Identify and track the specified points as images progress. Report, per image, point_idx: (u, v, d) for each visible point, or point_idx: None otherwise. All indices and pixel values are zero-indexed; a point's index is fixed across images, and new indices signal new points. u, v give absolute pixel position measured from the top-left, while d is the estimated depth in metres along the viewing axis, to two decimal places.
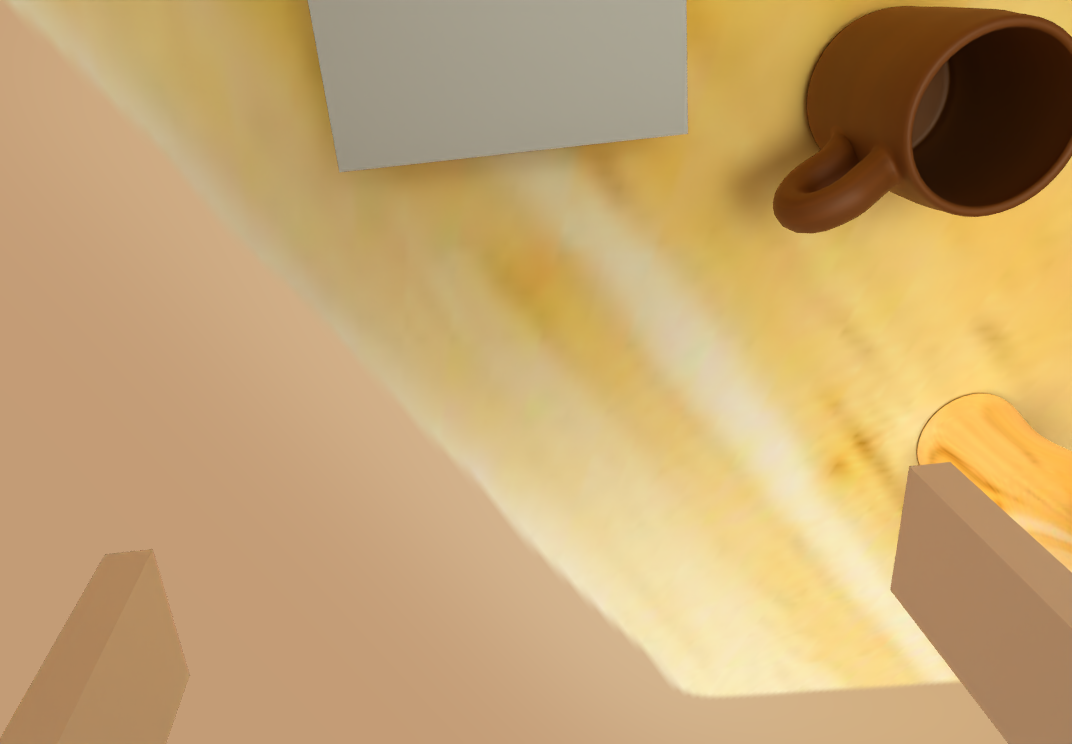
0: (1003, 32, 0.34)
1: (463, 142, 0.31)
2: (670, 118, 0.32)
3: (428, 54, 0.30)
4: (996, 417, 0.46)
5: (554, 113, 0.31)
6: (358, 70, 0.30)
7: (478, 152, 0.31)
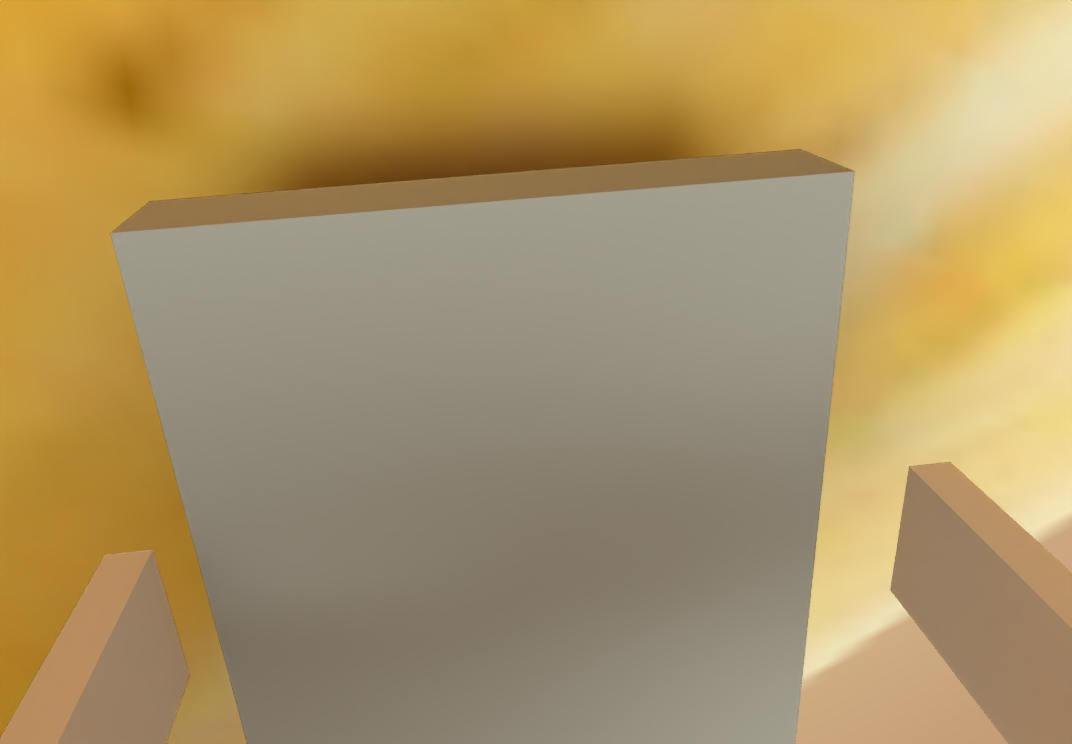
0: None
1: (781, 608, 0.16)
2: (812, 216, 0.13)
3: (624, 663, 0.17)
4: None
5: (757, 460, 0.15)
6: None
7: (803, 585, 0.16)
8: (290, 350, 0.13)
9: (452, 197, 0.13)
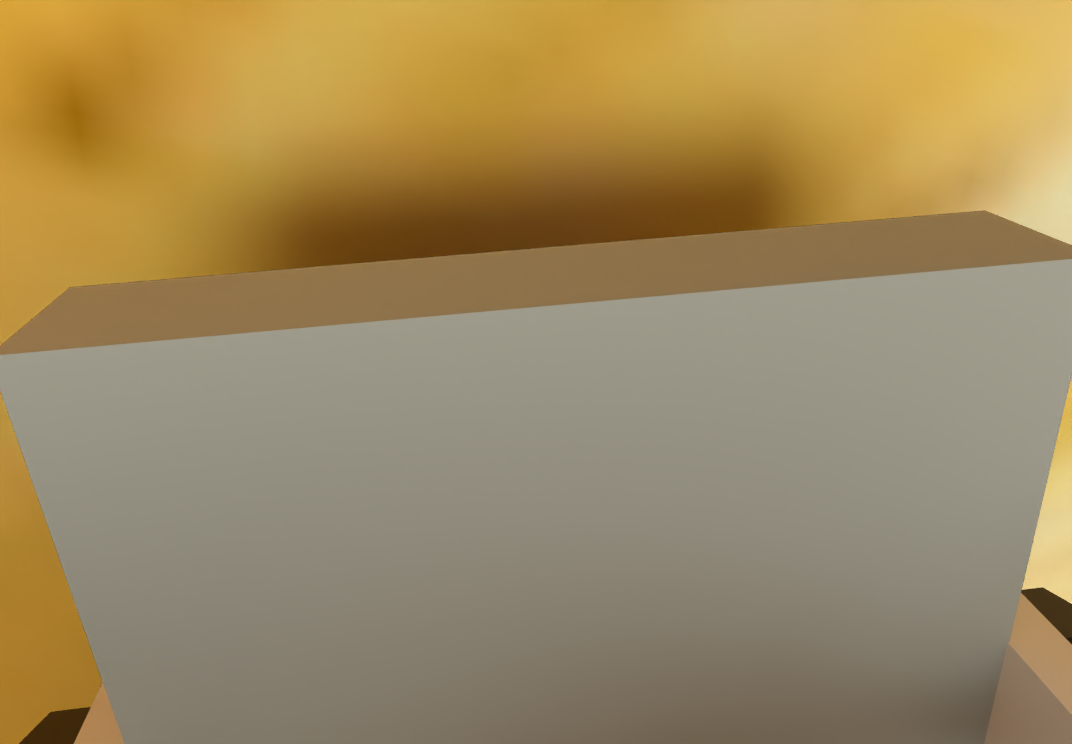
0: None
1: None
2: (1030, 320, 0.09)
3: None
4: None
5: (917, 643, 0.11)
6: None
7: None
8: (263, 514, 0.09)
9: (503, 293, 0.09)
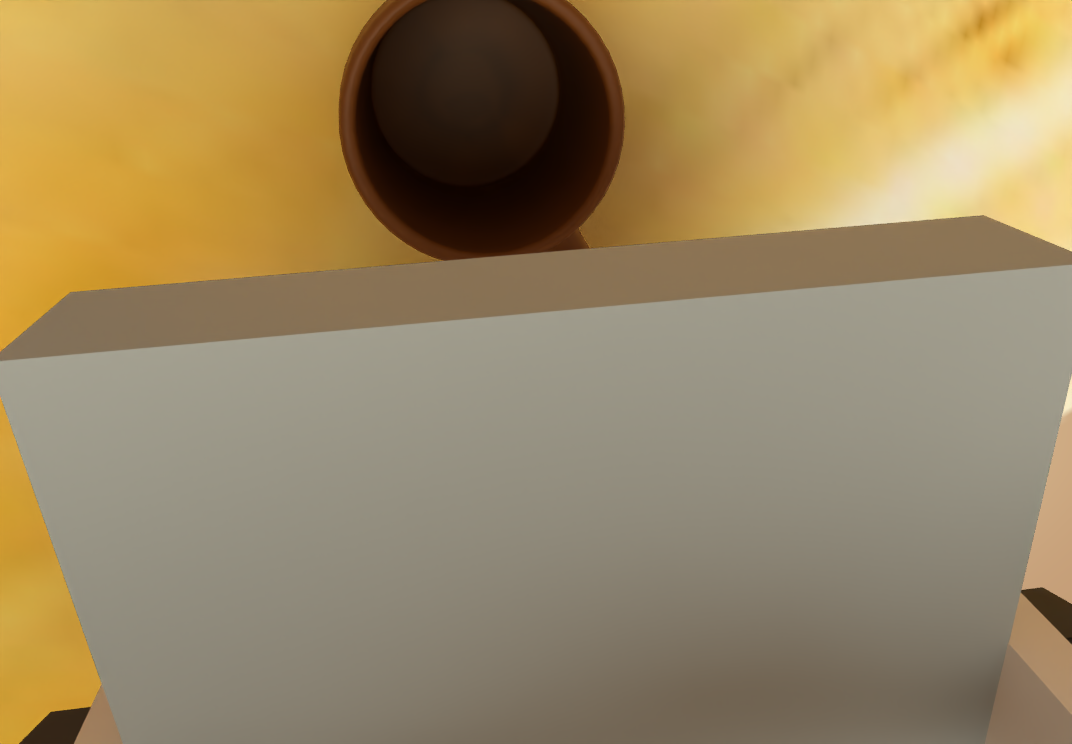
0: None
1: None
2: (1028, 326, 0.09)
3: None
4: None
5: (916, 647, 0.11)
6: None
7: None
8: (263, 519, 0.09)
9: (502, 298, 0.09)
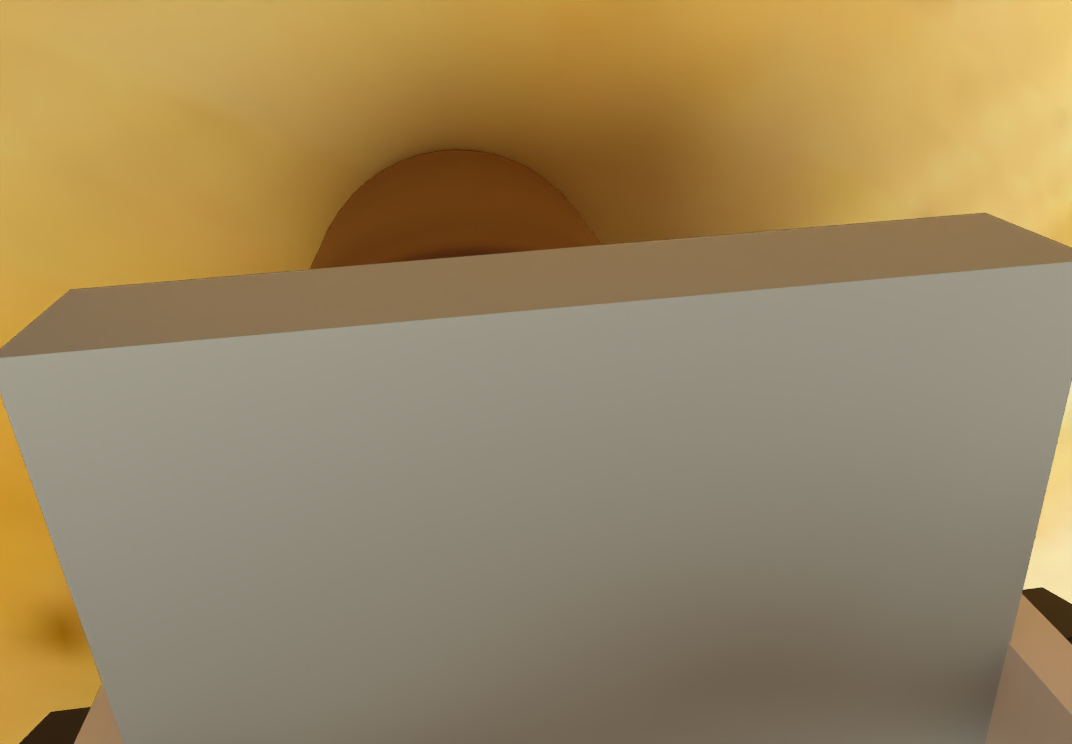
0: None
1: None
2: (1030, 323, 0.09)
3: None
4: None
5: (917, 645, 0.11)
6: None
7: None
8: (263, 517, 0.09)
9: (504, 295, 0.09)
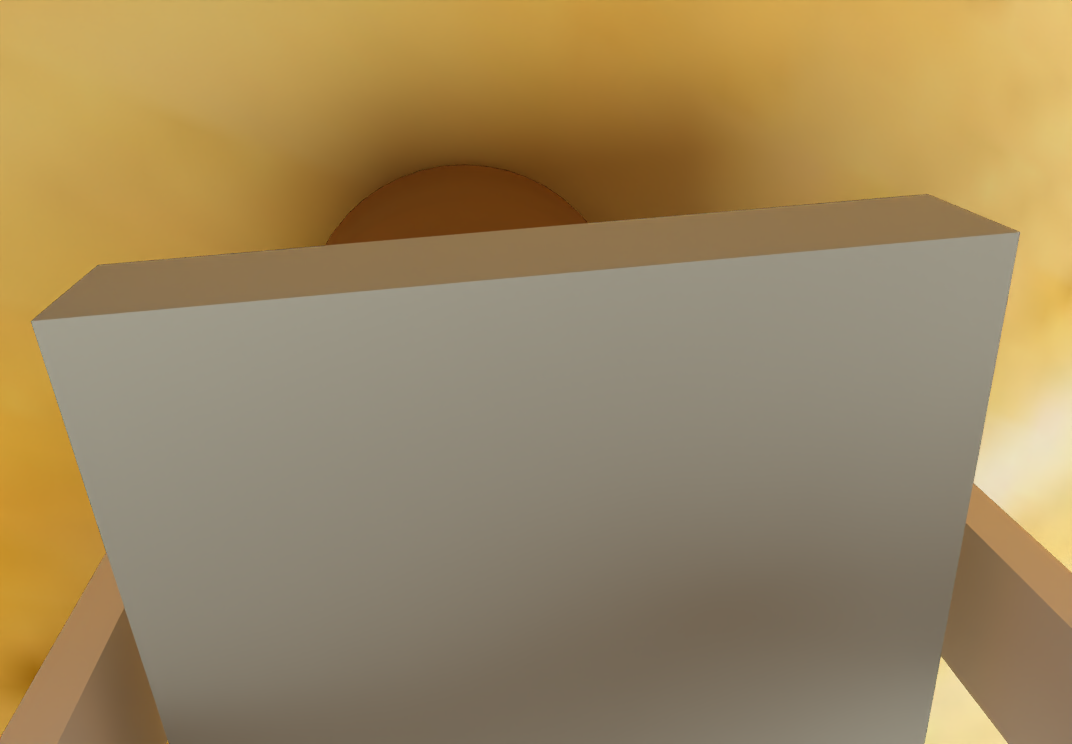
0: None
1: None
2: (960, 290, 0.10)
3: None
4: None
5: (869, 589, 0.12)
6: None
7: (916, 732, 0.13)
8: (273, 465, 0.10)
9: (488, 267, 0.10)
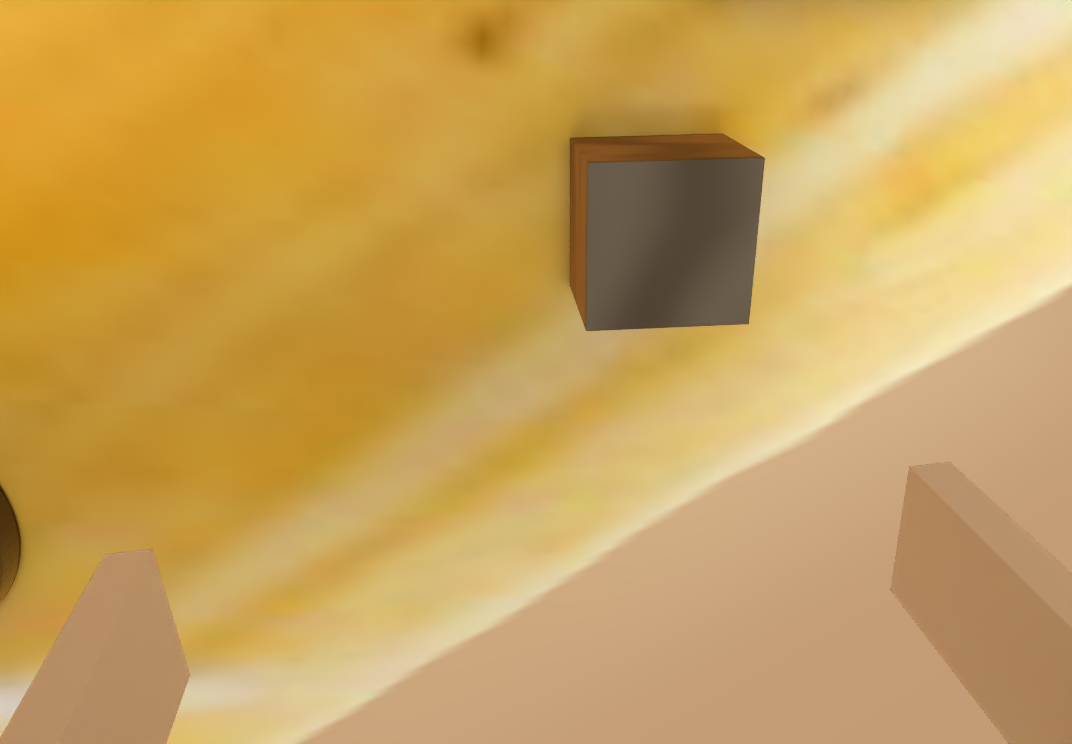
0: None
1: None
2: None
3: None
4: None
5: None
6: None
7: None
8: None
9: None
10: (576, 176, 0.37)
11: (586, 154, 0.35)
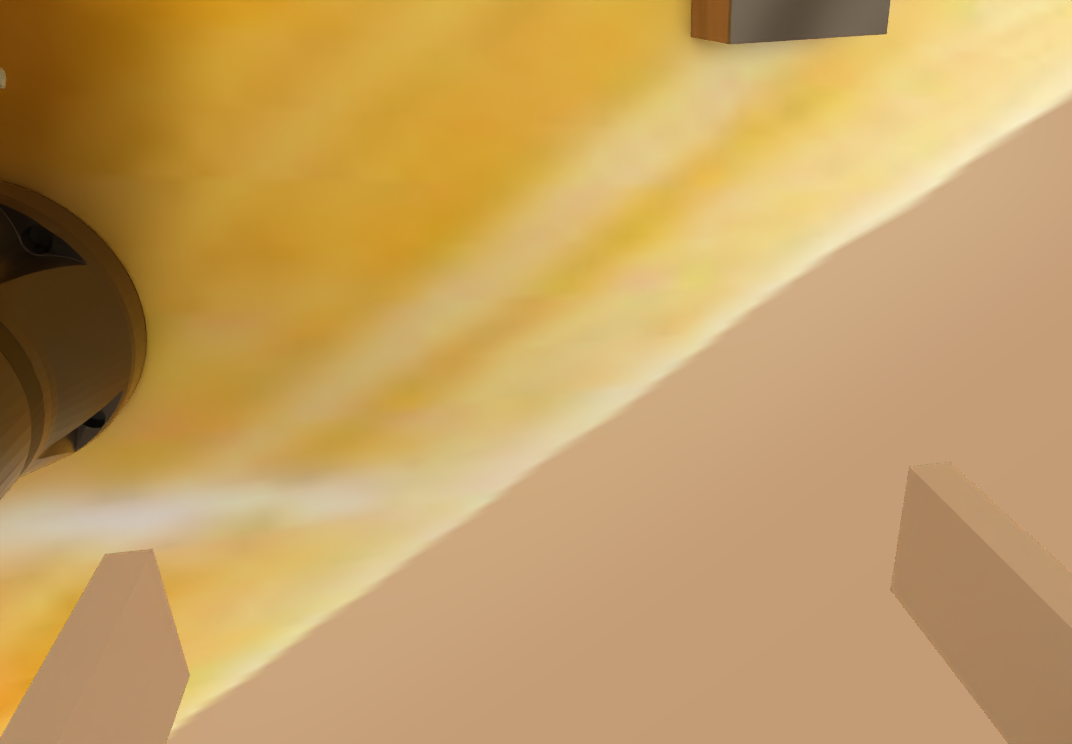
0: None
1: None
2: None
3: None
4: None
5: None
6: None
7: None
8: None
9: None
10: None
11: None
